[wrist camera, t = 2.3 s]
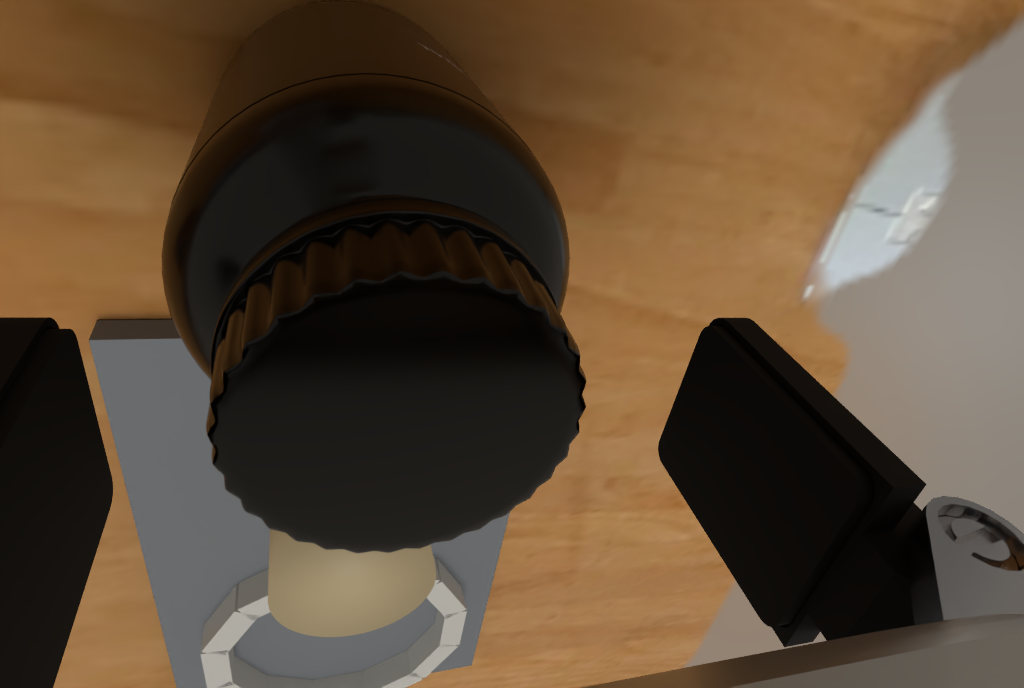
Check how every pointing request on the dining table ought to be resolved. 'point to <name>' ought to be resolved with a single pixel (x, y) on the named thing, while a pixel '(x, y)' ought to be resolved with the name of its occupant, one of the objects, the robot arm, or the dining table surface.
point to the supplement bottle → (371, 287)
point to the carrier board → (222, 527)
